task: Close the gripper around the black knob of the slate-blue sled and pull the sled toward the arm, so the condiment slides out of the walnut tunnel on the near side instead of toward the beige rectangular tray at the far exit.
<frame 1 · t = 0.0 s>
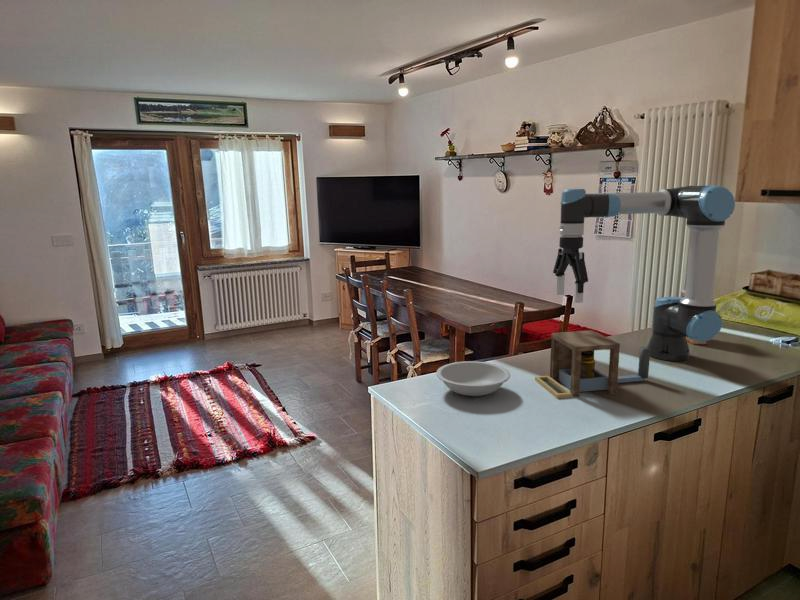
hand: (568, 298, 184), 28 cm above the worktop, tool pointing down, fingers open, 13 cm apart
sled: (608, 367, 181), point 6 cm above the worktop, slide at -0.3 cm, touching condiment
cracker box: (691, 340, 229), on the worktop
tunnel: (581, 385, 180), on the worktop
soup bowl: (472, 392, 177), on the worktop
condiment: (582, 386, 180), resting in sled
beige rectangular tray: (552, 388, 179), on the worktop
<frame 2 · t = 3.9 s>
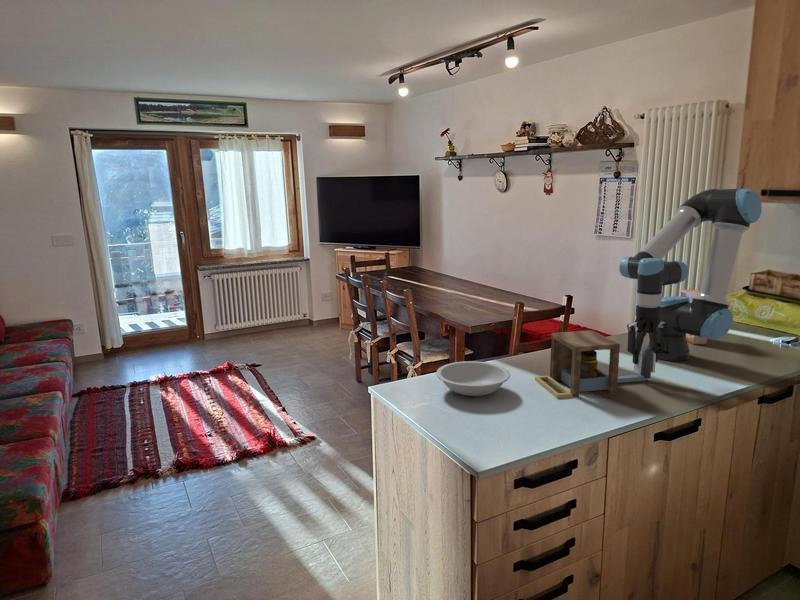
hand: (644, 371, 183), 3 cm above the worktop, tool pointing down, fingers open, 5 cm apart
sled: (610, 367, 181), point 6 cm above the worktop, slide at -1.2 cm, touching condiment, gripper
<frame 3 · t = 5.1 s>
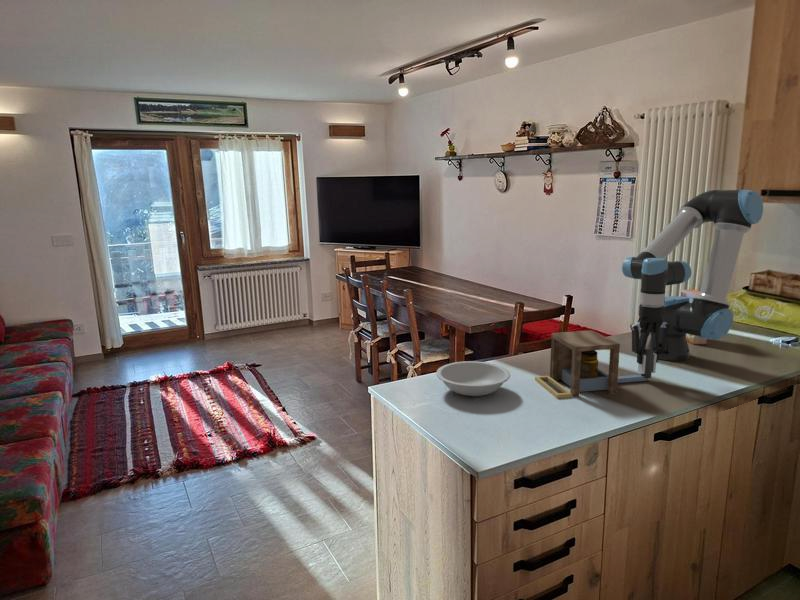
hand: (646, 371, 183), 3 cm above the worktop, tool pointing down, fingers closed on sled, 3 cm apart
sled: (611, 366, 181), point 6 cm above the worktop, slide at -1.4 cm, touching condiment, gripper
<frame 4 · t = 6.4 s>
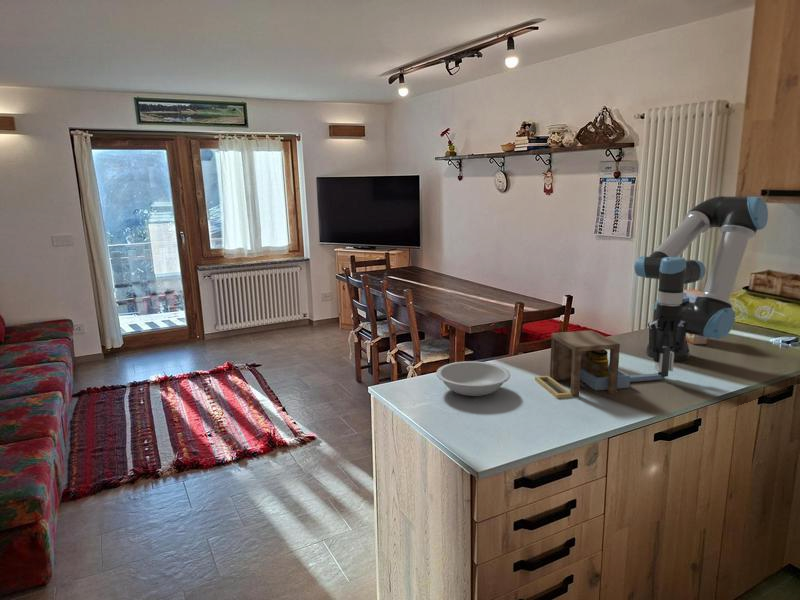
hand: (663, 370, 185), 3 cm above the worktop, tool pointing down, fingers open, 3 cm apart
sled: (628, 365, 182), point 6 cm above the worktop, slide at -7.8 cm, touching condiment, gripper
condiment: (595, 385, 181), resting in sled
everything else where it was.
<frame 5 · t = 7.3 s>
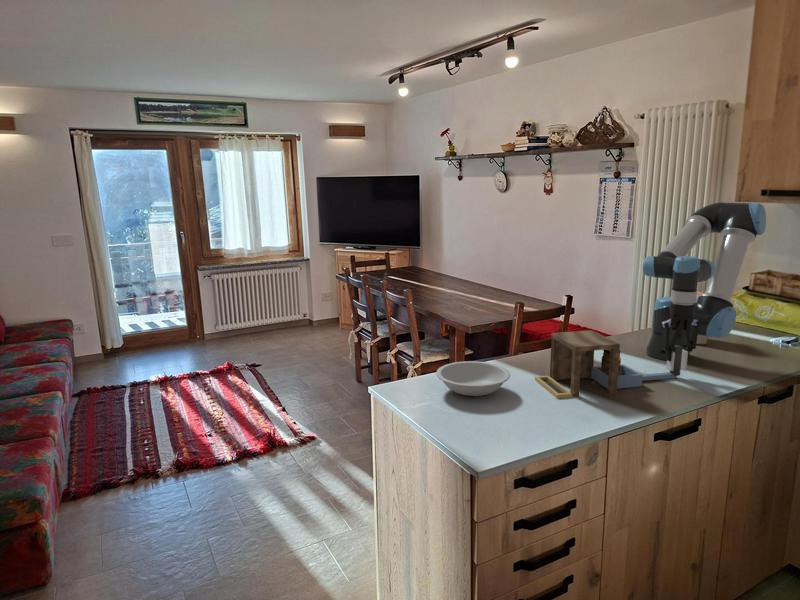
hand: (676, 368, 185), 3 cm above the worktop, tool pointing down, fingers open, 4 cm apart
sled: (640, 364, 182), point 6 cm above the worktop, slide at -12.3 cm, touching condiment, gripper
condiment: (607, 384, 182), resting in sled
everything else where it was.
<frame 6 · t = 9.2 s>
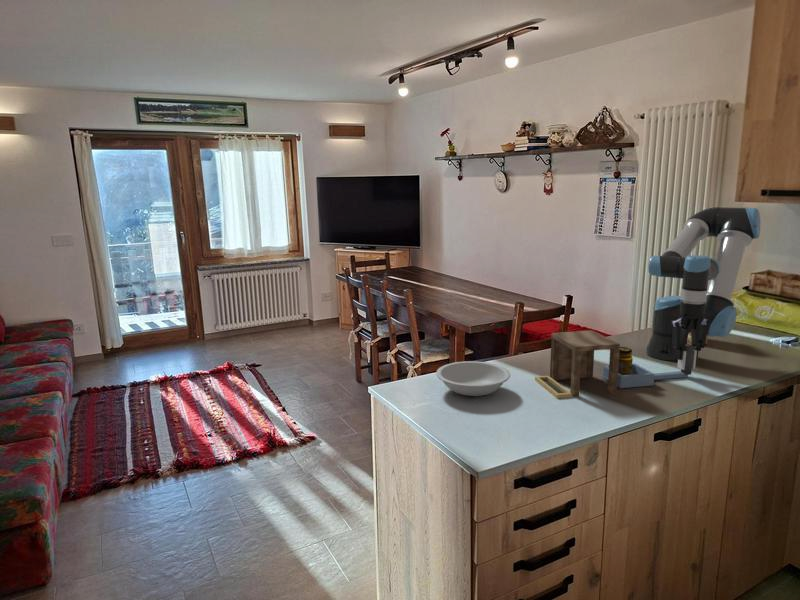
hand: (686, 367, 186), 3 cm above the worktop, tool pointing down, fingers closed on sled, 3 cm apart
sled: (652, 363, 183), point 6 cm above the worktop, slide at -16.6 cm, touching condiment, gripper
condiment: (619, 383, 183), resting in sled
everything else where it was.
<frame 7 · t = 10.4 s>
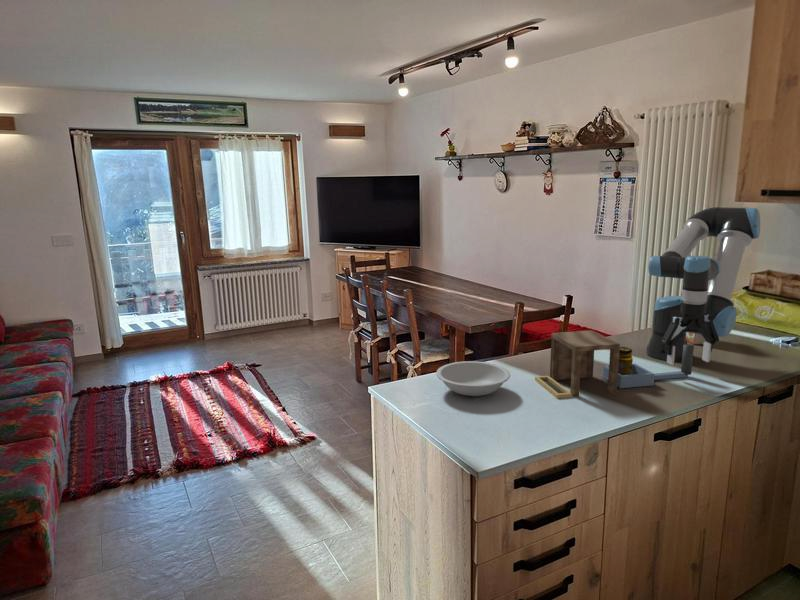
hand: (688, 362, 185), 5 cm above the worktop, tool pointing down, fingers open, 13 cm apart
sled: (652, 363, 183), point 6 cm above the worktop, slide at -16.6 cm, touching condiment
everything else where it was.
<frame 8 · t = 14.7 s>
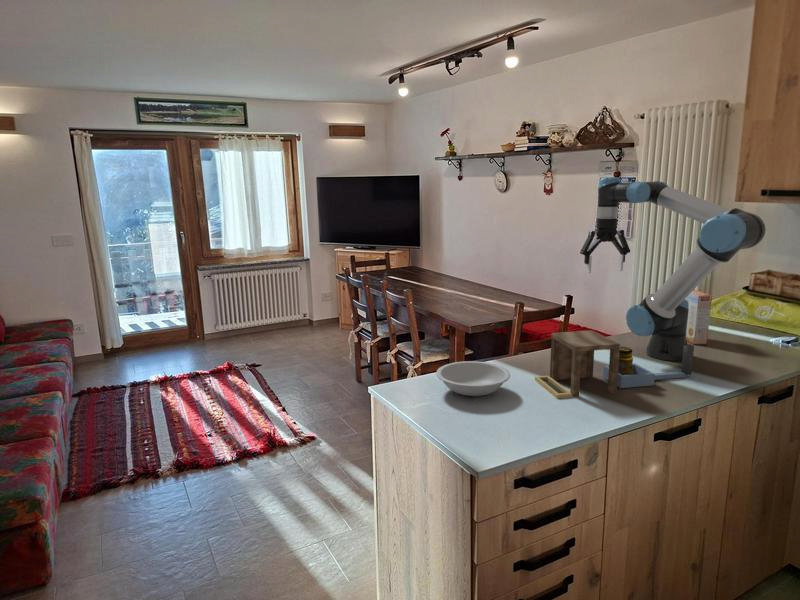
hand: (604, 271, 215), 32 cm above the worktop, tool pointing down, fingers open, 13 cm apart
nothing on the worktop moved.
at the end: sled slide at -16.7 cm; condiment inside the target area (4.1 cm from its centre), resting in sled; condiment tilted 0° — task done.
